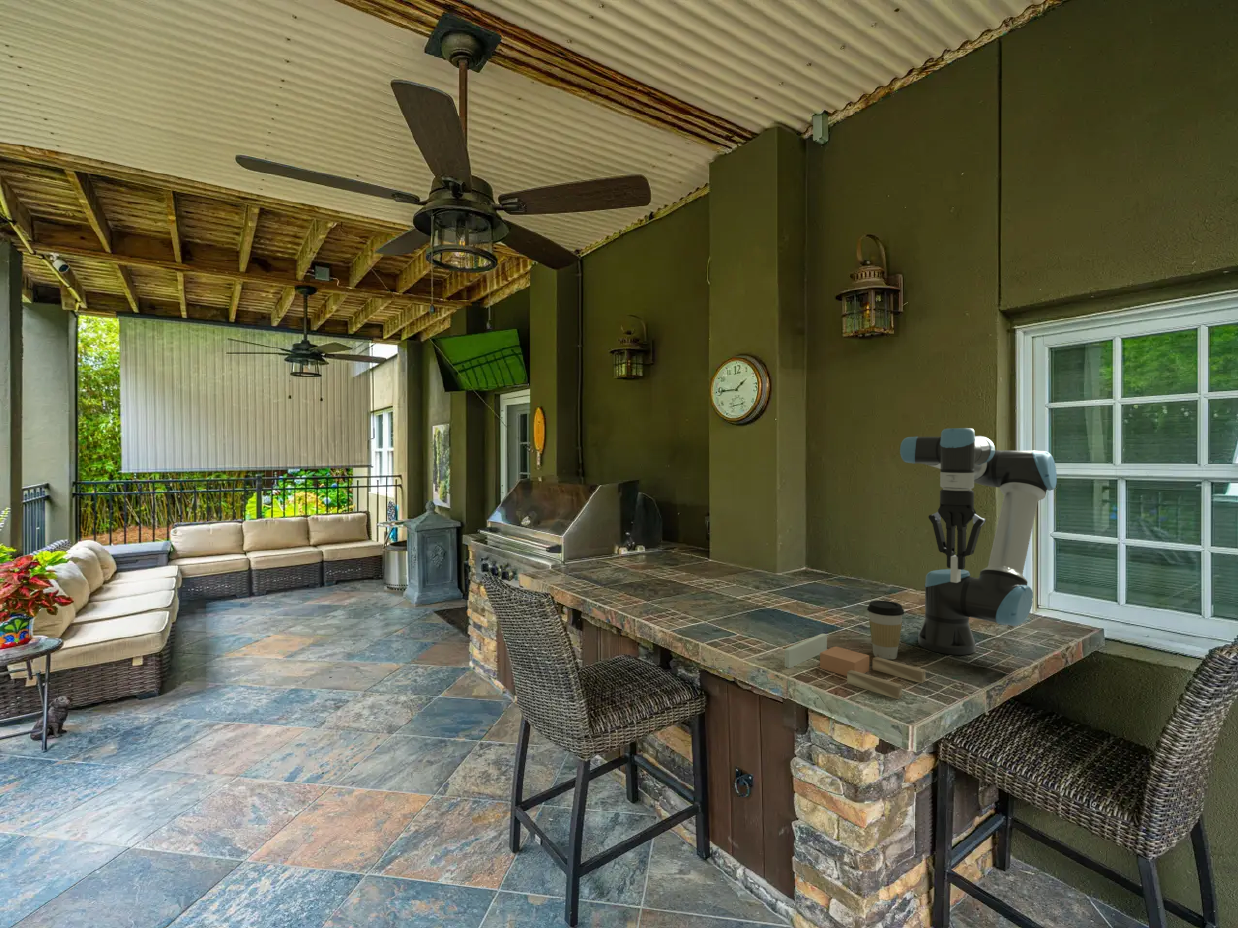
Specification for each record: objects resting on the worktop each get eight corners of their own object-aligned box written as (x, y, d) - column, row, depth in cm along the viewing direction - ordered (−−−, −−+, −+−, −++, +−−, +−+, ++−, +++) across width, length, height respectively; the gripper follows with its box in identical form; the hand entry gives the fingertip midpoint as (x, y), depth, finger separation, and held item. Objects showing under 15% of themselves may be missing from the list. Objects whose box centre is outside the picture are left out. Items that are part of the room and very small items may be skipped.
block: (835, 661, 171) (835, 646, 170) (869, 671, 163) (869, 655, 163) (819, 668, 165) (820, 652, 165) (854, 679, 158) (854, 662, 158)
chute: (875, 667, 165) (876, 656, 165) (925, 681, 155) (925, 669, 155) (847, 683, 155) (847, 671, 154) (898, 699, 145) (898, 687, 145)
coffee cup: (893, 649, 179) (893, 599, 179) (910, 661, 170) (911, 608, 169) (860, 649, 179) (861, 600, 179) (876, 662, 169) (876, 609, 169)
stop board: (822, 649, 179) (822, 633, 179) (826, 651, 178) (826, 634, 178) (784, 666, 166) (784, 649, 166) (789, 668, 165) (789, 650, 165)
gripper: (923, 488, 155) (922, 579, 155) (980, 491, 145) (978, 588, 146) (935, 486, 160) (934, 575, 160) (990, 489, 150) (989, 583, 151)
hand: (955, 581), depth 153 cm, fingers closed
